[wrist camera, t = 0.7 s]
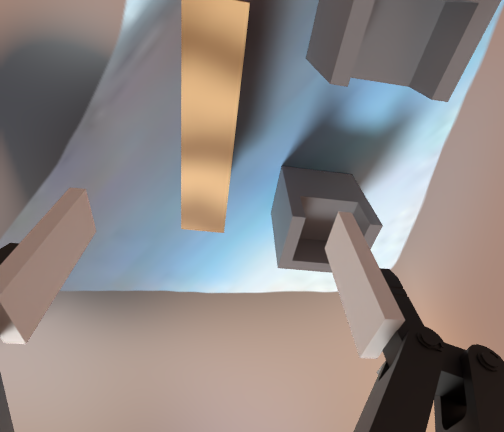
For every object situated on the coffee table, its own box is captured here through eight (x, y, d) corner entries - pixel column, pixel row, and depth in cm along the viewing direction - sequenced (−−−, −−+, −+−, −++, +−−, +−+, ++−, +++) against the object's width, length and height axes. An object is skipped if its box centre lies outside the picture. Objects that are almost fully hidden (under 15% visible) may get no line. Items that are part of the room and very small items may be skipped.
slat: (188, -9, 19) (181, -10, 17) (249, 2, 20) (249, 3, 18) (185, 213, 30) (181, 228, 28) (225, 216, 30) (223, 232, 28)
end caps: (327, -36, 23) (368, -50, 15) (426, -16, 24) (511, -20, 16) (270, 212, 37) (277, 267, 30) (334, 218, 38) (356, 274, 31)
